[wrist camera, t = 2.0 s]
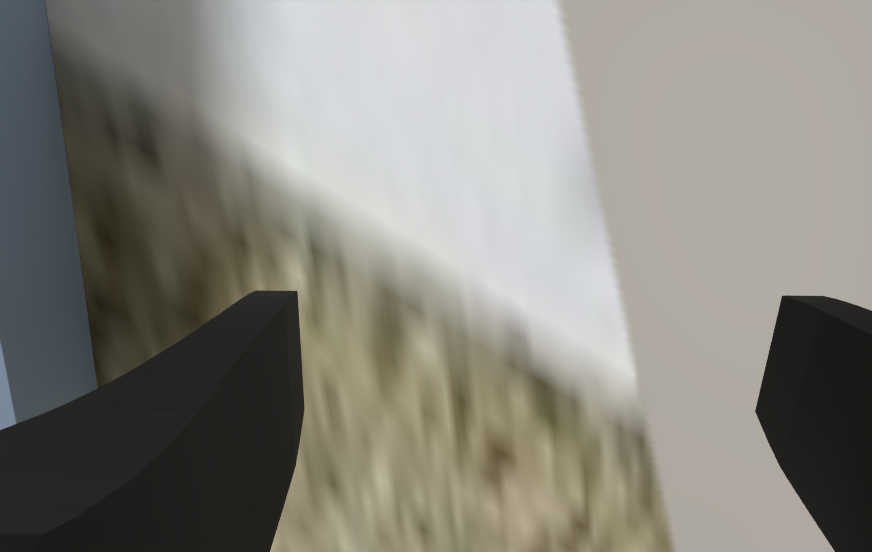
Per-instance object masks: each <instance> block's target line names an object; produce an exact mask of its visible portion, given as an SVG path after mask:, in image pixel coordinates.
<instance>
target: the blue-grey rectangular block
mask: <svg viewBox="0 0 872 552" xmlns="http://www.w3.org/2000/svg"><path fill="white" fill-rule="evenodd" d="M96 389H98V387H97V380H96V372H95V365H94V358H93V350H92V343H91V336H90V328H89V321H88V313H87V306H86V299H85V291H84V284H83V276H82V269H81V262H80V254H79V247H78V240H77V232H76V225H75V217H74V210H73V203H72V195H71V188H70V181H69V173H68V166H67V158H66V151H65V144H64V136H63V129H62V121H61V114H60V107H59V99H58V92H57V85H56V77H55V70H54V62H53V55H52V48H51V40H50V33H49V25H48V18H47V11H46V3H45V0H0V430H2V429H4V428H7V427H10V426H12V425H15V424H17V423H20V422H22V421H25V420H28V419H30V418H33V417H35V416H38V415H41V414H43V413H46V412H48V411H51V410H53V409H55V408H57V407H60V406H62V405H64V404H66V403H68V402H71V401H73V400H75V399H77V398H79V397H81V396H83V395H85V394H87V393H89V392H92V391H94V390H96Z"/></svg>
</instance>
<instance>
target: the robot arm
mask: <svg viewBox="0 0 872 552" xmlns="http://www.w3.org/2000/svg"><path fill="white" fill-rule="evenodd" d="M755 412H756V414H757V416H758V419H759V421H760V423H761V426H762V428H763V430H764V433H765V435H766V438H767V440H768V442H769V444H770V447H771V448H772V451H773V453H774V455H775V457H776V459H777V461H778V463H779V465H780V467H781V469H782V470H783V472H784V474H785V475H786V477H787V479H788V480H789V482H790V483H791V485H792V486H793V488H794V490H795V491H796V493H797V494H798V496H799V497H800V499H801V500H802V502H803V503H804V505H805V507H806V508H807V510H808V511H809V513H810V514H811V516H812V517H813V519H814V520H815V522H816V523H817V525H818V526H819V528H820V530H821V531H822V532H823V534H824V536H825V537H826V539H827V540H828V541H829V543H830V545H831V546H832V548H833V549H834V551H835V552H872V311H871V310H868V309H865V308H862V307H860V306H857V305H853V304H851V303H847V302H844V301H841V300H837V299H833V298H829V297H825V296H782V299H781V303H780V307H779V312H778V316H777V321H776V325H775V329H774V333H773V338H772V342H771V346H770V350H769V355H768V359H767V363H766V367H765V372H764V376H763V380H762V385H761V389H760V393H759V398H758V402H757V406H756V411H755ZM303 415H304V394H303V378H302V361H301V345H300V328H299V311H298V295H297V291H254V292H252V293H250V294H248V295H247V296H245V297H243V298H242V299H240V300H239V301H237V302H236V303H235V304H233V305H232V306H230V307H229V308H227V309H226V310H224V311H223V312H222V313H220V314H219V315H217V316H216V317H214V318H213V319H211V320H210V321H209V322H207V323H206V324H204V325H203V326H201V327H200V328H198V329H197V330H195V331H194V332H192V333H191V334H189V335H188V336H187V337H185V338H184V339H182V340H181V341H179V342H178V343H176V344H174V345H173V346H171V347H169V348H168V349H166V350H164V351H163V352H161V353H159V354H158V355H156V356H154V357H153V358H151V359H150V360H148V361H146V362H145V363H143V364H141V365H140V366H138V367H136V368H135V369H133V370H131V371H130V372H128V373H126V374H124V375H123V376H121V377H119V378H117V379H115V380H113V381H111V382H109V383H108V384H106V385H104V386H102V387H100V388H98V389H96V390H94V391H92V392H89V393H87V394H85V395H83V396H81V397H79V398H77V399H75V400H73V401H71V402H68V403H66V404H64V405H62V406H60V407H57V408H55V409H53V410H51V411H48V412H46V413H43V414H41V415H38V416H35V417H33V418H30V419H28V420H25V421H22V422H20V423H17V424H15V425H12V426H10V427H7V428H4V429H2V430H0V552H270V549H271V546H272V543H273V540H274V536H275V533H276V530H277V526H278V523H279V520H280V517H281V513H282V510H283V507H284V503H285V500H286V497H287V493H288V490H289V486H290V483H291V480H292V476H293V473H294V469H295V466H296V460H297V454H298V448H299V442H300V435H301V429H302V422H303Z"/></svg>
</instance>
